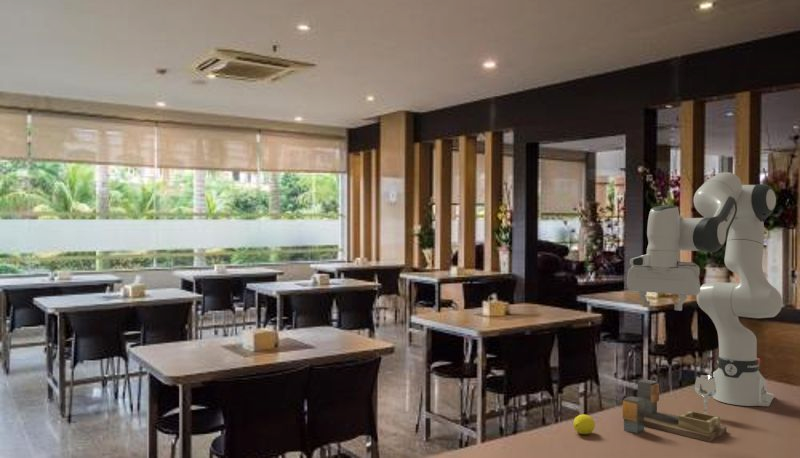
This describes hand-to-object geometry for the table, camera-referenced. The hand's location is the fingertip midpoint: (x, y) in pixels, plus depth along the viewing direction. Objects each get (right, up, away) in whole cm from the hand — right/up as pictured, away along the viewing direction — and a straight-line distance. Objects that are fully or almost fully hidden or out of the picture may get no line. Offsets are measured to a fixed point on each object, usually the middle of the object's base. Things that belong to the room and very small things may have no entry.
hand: (661, 308), depth 179 cm
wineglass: (+17, -34, +9) cm, 39 cm away
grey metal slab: (-10, -34, -4) cm, 35 cm away
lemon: (-25, -34, -7) cm, 43 cm away
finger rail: (+3, -34, 0) cm, 34 cm away
